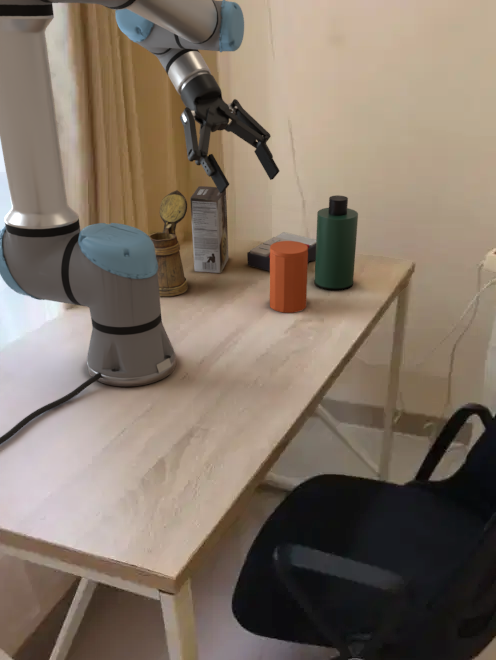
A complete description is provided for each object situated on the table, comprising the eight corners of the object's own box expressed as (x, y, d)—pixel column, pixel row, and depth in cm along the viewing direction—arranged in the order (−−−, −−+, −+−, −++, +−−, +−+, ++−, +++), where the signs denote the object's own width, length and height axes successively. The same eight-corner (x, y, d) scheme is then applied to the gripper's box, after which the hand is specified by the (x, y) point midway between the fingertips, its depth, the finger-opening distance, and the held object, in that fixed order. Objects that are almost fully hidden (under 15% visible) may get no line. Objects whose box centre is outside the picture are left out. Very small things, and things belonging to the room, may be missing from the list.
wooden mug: (202, 276, 166) (197, 191, 155) (177, 299, 155) (170, 210, 144) (165, 271, 168) (158, 187, 157) (138, 293, 157) (128, 205, 146)
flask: (328, 294, 158) (333, 206, 147) (306, 280, 164) (309, 195, 153) (361, 286, 162) (368, 200, 151) (338, 273, 168) (343, 190, 157)
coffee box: (202, 257, 175) (198, 185, 165) (229, 259, 174) (227, 186, 164) (193, 271, 168) (188, 197, 158) (221, 273, 167) (218, 198, 157)
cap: (282, 315, 149) (282, 255, 142) (263, 302, 154) (263, 244, 147) (312, 307, 153) (315, 249, 145) (293, 295, 157) (294, 238, 150)
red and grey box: (246, 249, 169) (283, 229, 178) (246, 268, 172) (283, 246, 181) (286, 259, 164) (322, 238, 173) (286, 278, 167) (321, 256, 176)
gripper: (234, 91, 155) (284, 181, 156) (137, 107, 141) (193, 206, 142) (251, 64, 149) (304, 158, 150) (151, 78, 135) (211, 182, 136)
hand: (250, 182), depth 146 cm, fingers open, 13 cm apart
